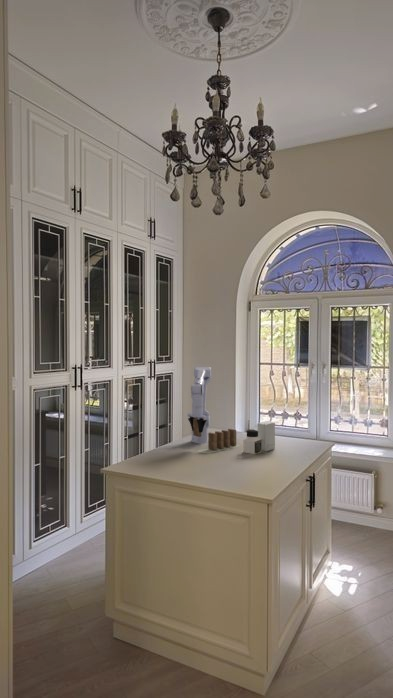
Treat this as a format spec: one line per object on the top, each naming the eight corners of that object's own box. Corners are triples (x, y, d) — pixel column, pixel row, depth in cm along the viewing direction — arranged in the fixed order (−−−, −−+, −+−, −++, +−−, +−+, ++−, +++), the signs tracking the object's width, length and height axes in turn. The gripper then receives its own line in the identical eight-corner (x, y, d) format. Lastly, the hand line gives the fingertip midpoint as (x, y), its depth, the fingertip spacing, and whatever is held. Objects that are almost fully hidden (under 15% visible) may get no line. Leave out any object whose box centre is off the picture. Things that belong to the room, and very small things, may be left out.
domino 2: (215, 447, 252) (215, 431, 252) (217, 447, 253) (217, 431, 253) (221, 449, 248) (221, 432, 248) (223, 448, 249) (223, 432, 249)
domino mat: (196, 451, 245) (196, 450, 245) (230, 443, 262) (230, 443, 262) (206, 454, 239) (206, 453, 239) (241, 446, 256) (241, 445, 256)
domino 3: (221, 446, 255) (221, 430, 255) (223, 445, 256) (223, 429, 256) (227, 447, 251) (227, 431, 251) (230, 447, 252) (229, 431, 252)
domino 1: (208, 449, 249) (208, 432, 248) (210, 448, 250) (210, 432, 249) (214, 450, 245) (214, 434, 244) (216, 450, 246) (216, 433, 246)
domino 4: (227, 444, 258) (227, 428, 258) (229, 444, 259) (229, 428, 259) (234, 446, 255) (234, 430, 254) (236, 445, 256) (236, 429, 255)
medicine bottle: (254, 454, 238) (254, 431, 237) (243, 452, 242) (243, 430, 242) (261, 452, 244) (261, 429, 243) (250, 450, 248) (250, 427, 247)
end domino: (193, 435, 250) (193, 418, 250) (195, 434, 251) (195, 418, 251) (199, 436, 246) (199, 420, 246) (201, 436, 247) (201, 419, 247)
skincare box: (267, 447, 254) (267, 420, 253) (275, 449, 249) (275, 422, 248) (256, 449, 248) (256, 422, 248) (265, 451, 244) (265, 424, 243)
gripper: (183, 405, 251) (183, 430, 251) (200, 408, 240) (200, 434, 240) (192, 404, 256) (193, 428, 256) (210, 407, 245) (210, 432, 245)
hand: (197, 431), depth 248 cm, fingers closed on end domino, 5 cm apart
